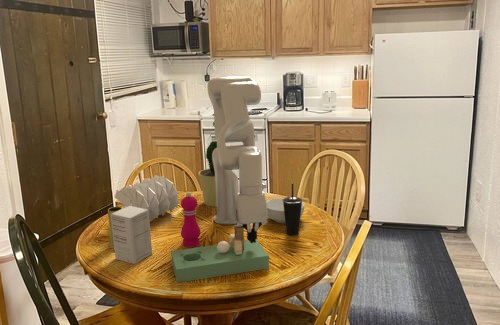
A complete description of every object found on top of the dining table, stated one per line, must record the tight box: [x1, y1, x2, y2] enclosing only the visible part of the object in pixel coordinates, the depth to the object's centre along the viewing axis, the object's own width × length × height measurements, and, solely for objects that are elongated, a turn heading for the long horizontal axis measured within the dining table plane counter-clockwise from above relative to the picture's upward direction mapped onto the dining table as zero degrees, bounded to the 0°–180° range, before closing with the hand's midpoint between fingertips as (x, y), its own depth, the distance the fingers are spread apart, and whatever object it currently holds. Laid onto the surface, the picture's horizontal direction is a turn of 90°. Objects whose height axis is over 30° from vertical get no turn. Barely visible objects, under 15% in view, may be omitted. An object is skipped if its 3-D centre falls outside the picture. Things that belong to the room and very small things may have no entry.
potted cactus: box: [198, 140, 217, 207], centre depth 216 cm, size 15×15×30 cm
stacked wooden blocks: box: [229, 224, 245, 255], centre depth 155 cm, size 8×3×8 cm, turn 16°
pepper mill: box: [180, 192, 202, 248], centre depth 171 cm, size 7×7×20 cm
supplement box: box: [111, 206, 153, 265], centre depth 162 cm, size 10×9×17 cm
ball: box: [216, 240, 229, 253], centre depth 155 cm, size 4×4×4 cm
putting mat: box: [170, 239, 270, 284], centre depth 155 cm, size 14×30×4 cm, turn 106°
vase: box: [107, 206, 123, 249], centre depth 173 cm, size 6×6×14 cm
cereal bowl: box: [266, 197, 305, 224], centre depth 195 cm, size 17×17×7 cm
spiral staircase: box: [114, 174, 180, 223], centre depth 199 cm, size 18×18×25 cm
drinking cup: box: [283, 183, 304, 237], centre depth 179 cm, size 8×8×20 cm
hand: (252, 241), depth 157 cm, fingers closed
